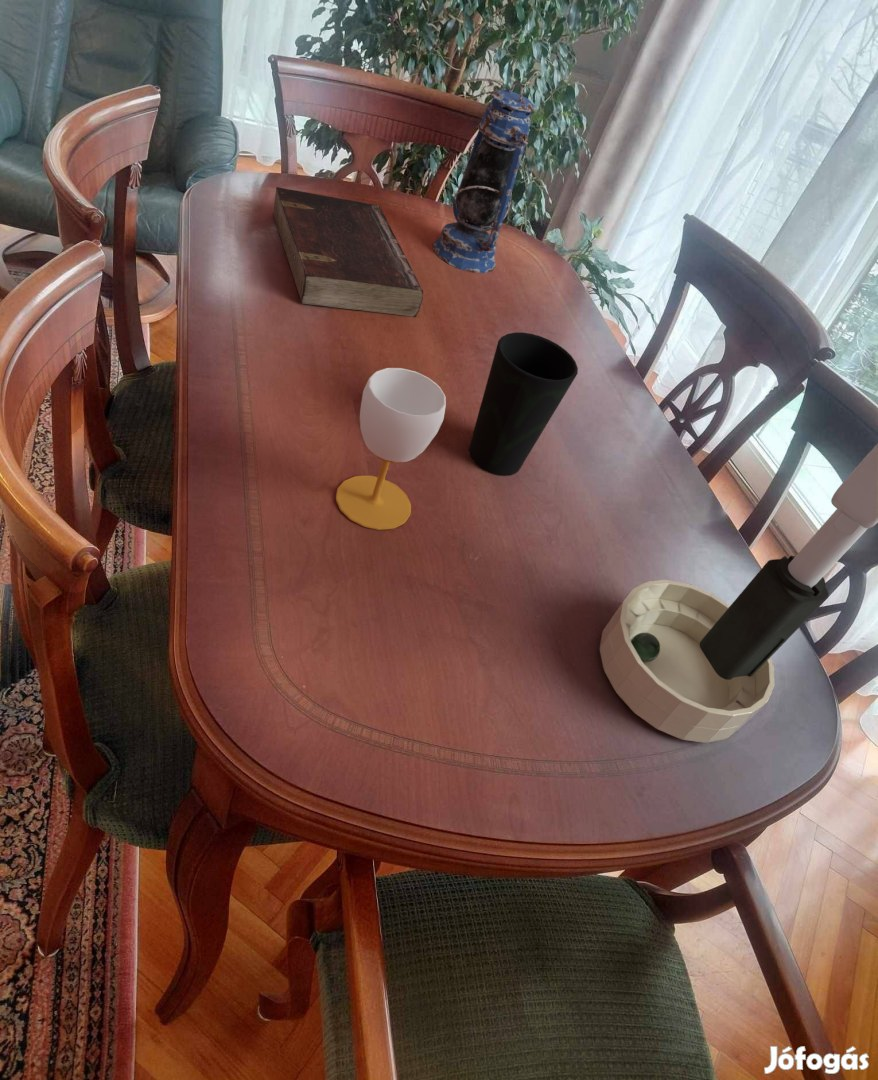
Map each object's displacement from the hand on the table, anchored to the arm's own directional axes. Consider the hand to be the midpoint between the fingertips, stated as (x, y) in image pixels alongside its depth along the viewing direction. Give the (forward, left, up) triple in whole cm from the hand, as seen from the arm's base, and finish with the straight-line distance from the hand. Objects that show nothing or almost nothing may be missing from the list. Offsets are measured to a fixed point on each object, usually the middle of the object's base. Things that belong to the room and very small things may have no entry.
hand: (852, 519), depth 68 cm
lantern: (+81, +51, -26) cm, 99 cm away
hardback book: (+59, +67, -26) cm, 93 cm away
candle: (0, 0, -21) cm, 21 cm away
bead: (0, +8, -24) cm, 25 cm away
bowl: (0, +4, -26) cm, 27 cm away
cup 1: (+7, +42, -26) cm, 50 cm away
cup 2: (+25, +31, -26) cm, 48 cm away
